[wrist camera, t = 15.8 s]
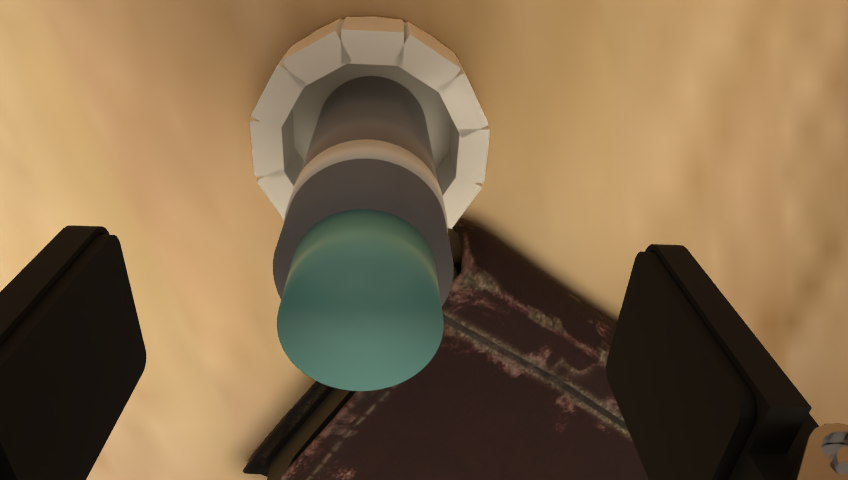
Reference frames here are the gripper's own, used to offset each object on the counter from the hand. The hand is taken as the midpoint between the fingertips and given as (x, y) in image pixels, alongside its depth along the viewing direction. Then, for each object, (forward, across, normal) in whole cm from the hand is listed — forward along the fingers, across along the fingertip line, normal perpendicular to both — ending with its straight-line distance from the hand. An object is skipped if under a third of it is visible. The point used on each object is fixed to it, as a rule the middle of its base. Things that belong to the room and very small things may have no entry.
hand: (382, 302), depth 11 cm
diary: (+13, -8, +19) cm, 25 cm away
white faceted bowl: (+13, +1, +1) cm, 13 cm away
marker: (+12, +1, +1) cm, 12 cm away
